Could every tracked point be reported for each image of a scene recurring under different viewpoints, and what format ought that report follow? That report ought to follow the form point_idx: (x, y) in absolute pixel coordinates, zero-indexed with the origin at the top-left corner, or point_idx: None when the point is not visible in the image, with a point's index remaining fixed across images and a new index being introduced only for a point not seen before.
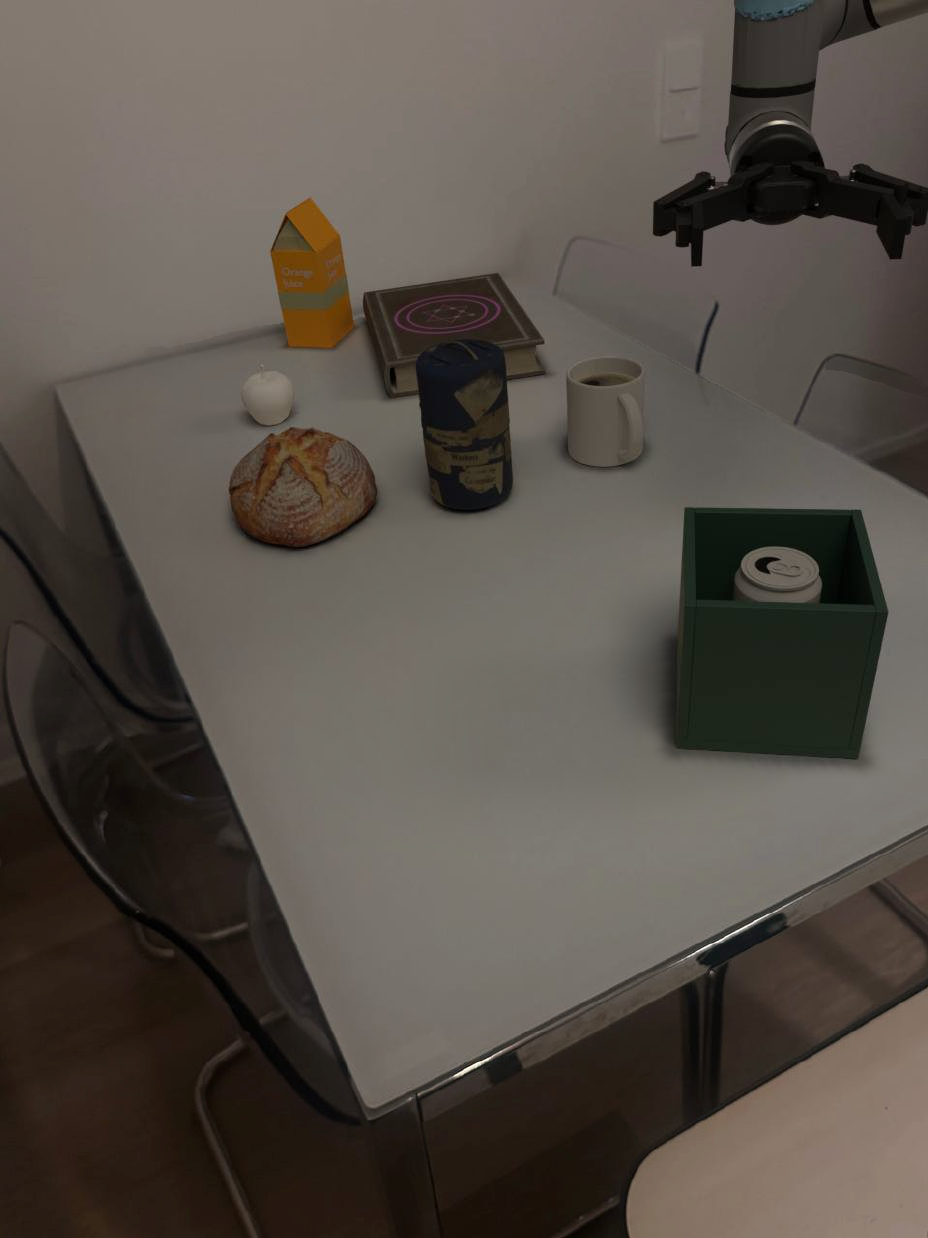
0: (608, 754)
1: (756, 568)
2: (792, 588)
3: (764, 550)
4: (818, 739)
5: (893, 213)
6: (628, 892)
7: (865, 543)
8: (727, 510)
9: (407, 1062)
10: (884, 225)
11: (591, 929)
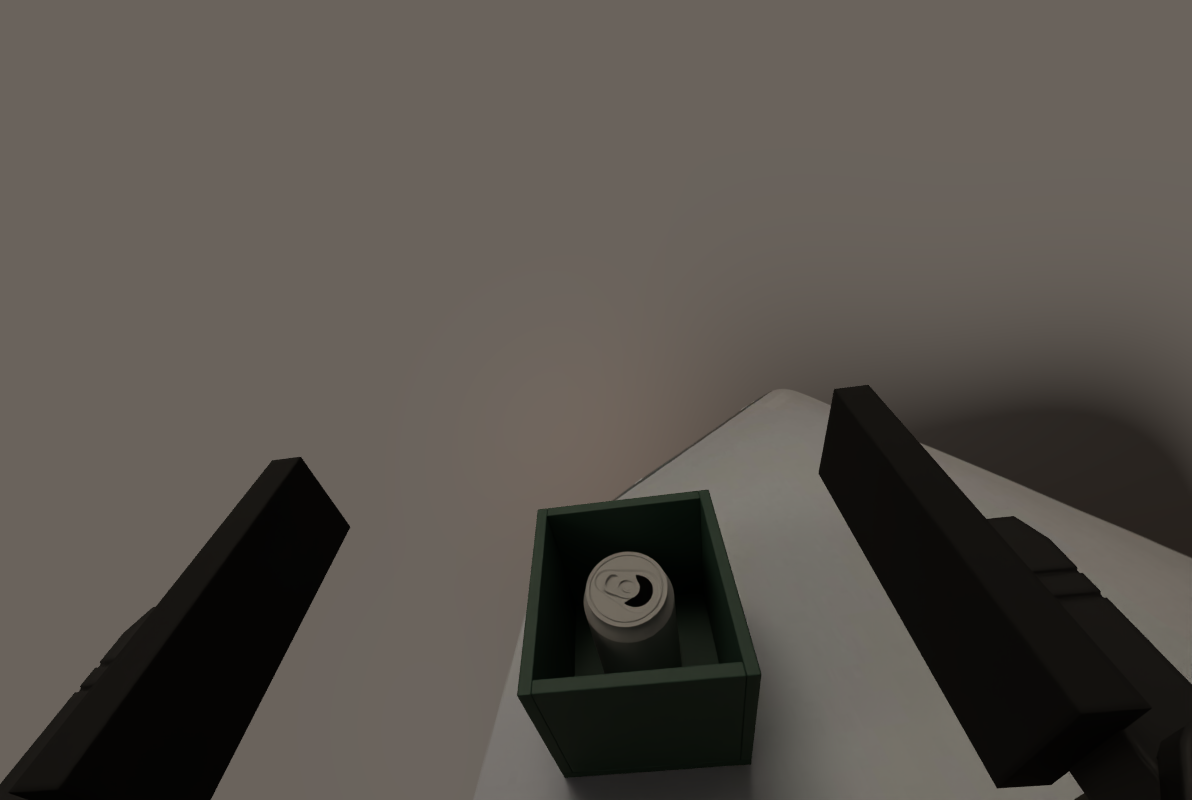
0: (762, 575)
1: (653, 642)
2: (614, 554)
3: (643, 618)
4: None
5: (265, 503)
6: (710, 479)
7: (531, 611)
8: (697, 671)
9: (778, 398)
10: (245, 636)
11: (723, 458)
